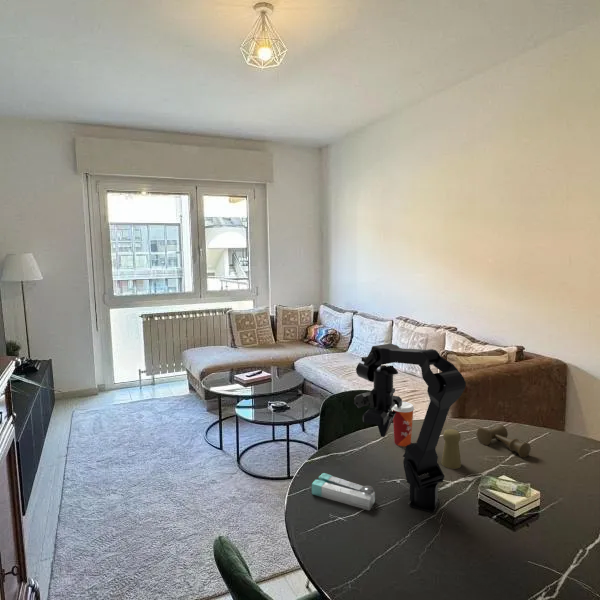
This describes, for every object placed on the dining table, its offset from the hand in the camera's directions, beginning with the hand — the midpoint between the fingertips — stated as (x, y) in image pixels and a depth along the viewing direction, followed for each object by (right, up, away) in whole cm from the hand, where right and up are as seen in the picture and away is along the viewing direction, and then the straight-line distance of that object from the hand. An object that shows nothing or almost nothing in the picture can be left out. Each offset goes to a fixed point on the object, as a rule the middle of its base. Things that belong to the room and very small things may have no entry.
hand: (383, 436), depth 134 cm
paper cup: (+11, -9, +23) cm, 27 cm away
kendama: (+44, -10, +19) cm, 49 cm away
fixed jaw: (-13, -14, -11) cm, 21 cm away
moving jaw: (-14, -13, -8) cm, 20 cm away
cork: (+23, -11, +7) cm, 26 cm away
